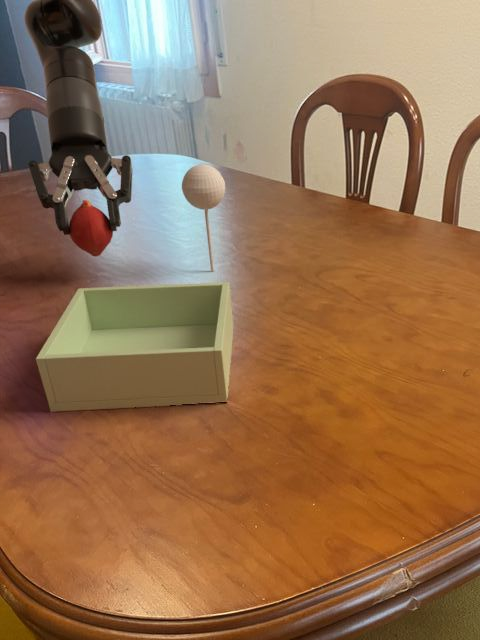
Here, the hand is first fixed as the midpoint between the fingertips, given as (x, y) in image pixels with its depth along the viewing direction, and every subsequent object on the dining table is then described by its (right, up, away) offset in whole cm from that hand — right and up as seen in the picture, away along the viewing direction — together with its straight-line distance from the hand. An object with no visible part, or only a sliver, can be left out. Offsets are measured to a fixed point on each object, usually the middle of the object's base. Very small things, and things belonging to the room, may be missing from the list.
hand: (90, 229), depth 90 cm
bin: (+13, -20, -17) cm, 29 cm away
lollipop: (+16, -4, +7) cm, 18 cm away
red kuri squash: (0, -3, +4) cm, 5 cm away
